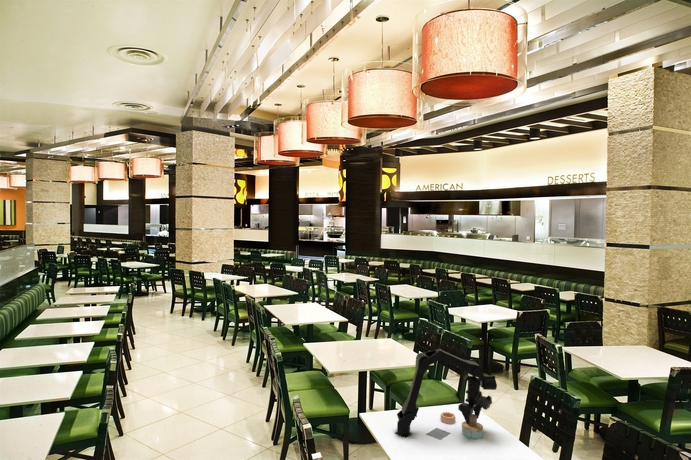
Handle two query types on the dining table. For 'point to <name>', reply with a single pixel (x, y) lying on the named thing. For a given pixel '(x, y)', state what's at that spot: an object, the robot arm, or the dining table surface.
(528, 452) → the dining table surface
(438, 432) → the mat
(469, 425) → the lid
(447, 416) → the small bowl
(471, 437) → the bowl
